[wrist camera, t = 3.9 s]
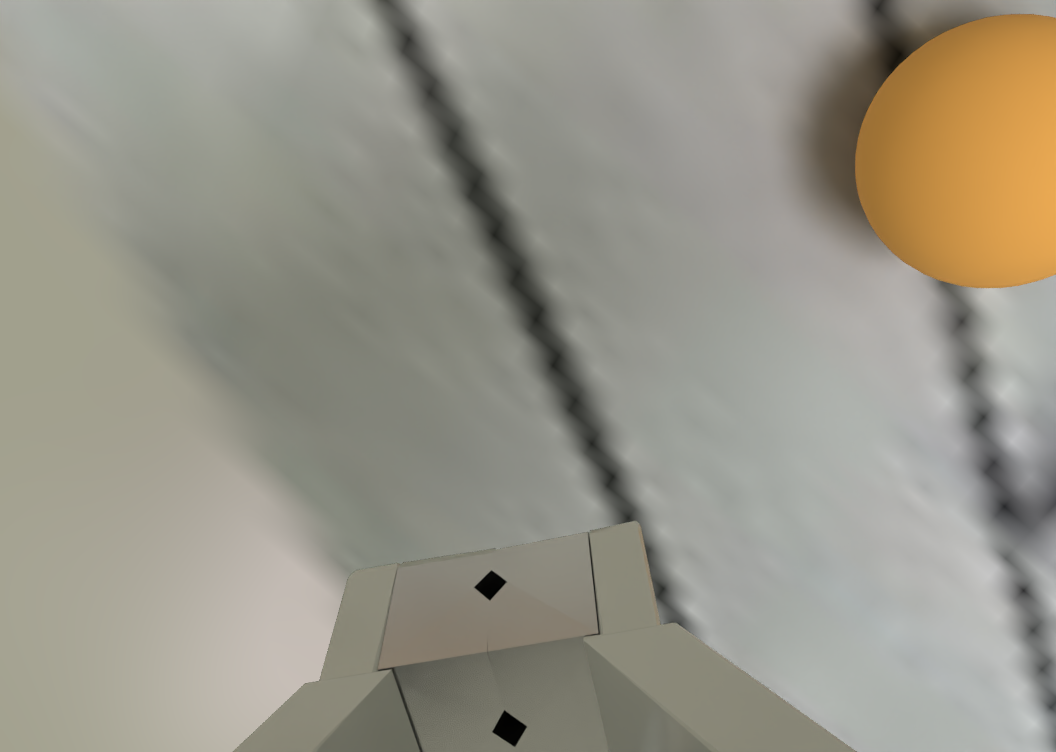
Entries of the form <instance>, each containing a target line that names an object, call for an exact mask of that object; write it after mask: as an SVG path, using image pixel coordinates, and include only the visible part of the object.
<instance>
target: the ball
mask: <svg viewBox="0 0 1056 752" xmlns="http://www.w3.org/2000/svg"><path fill="white" fill-rule="evenodd" d="M855 177H856V185H857V191H858V195H859V198H860V202H861V205H862V207H863V210H864V212H865V214H866V216H867V219H868V221H869V223H870V225H871V226H872V228H873V230H874V231H875V233H876V234H877V236H878V237H879V238H880V239H881V240H882V242H883V243H884V244H885V245H886V246H887V247H888V248H889V249H890V250H891V251H892V253H894V254H895V255H896V256H897V257H898V258H900V259H901V260H902V261H903V262H905V263H906V264H908V265H910V266H911V267H913V268H915V269H916V270H918V271H920V272H921V273H923V274H925V275H928V276H930V277H932V278H935V279H937V280H940V281H944V282H948V283H952V284H956V285H959V286H966V287H974V288H1004V287H1012V286H1019V285H1023V284H1027V283H1031V282H1035V281H1038V280H1042V279H1045V278H1047V277H1050V276H1053V275H1055V274H1056V18H1053V17H1049V16H1041V15H1034V14H1011V15H1000V16H993V17H986V18H983V19H979V20H976V21H972V22H969V23H966V24H963V25H960V26H958V27H955V28H953V29H951V30H948V31H946V32H944V33H942V34H940V35H938V36H937V37H935V38H933V39H931V40H930V41H928V42H927V43H925V44H924V45H923V46H921V47H920V48H918V49H917V50H916V51H914V52H913V53H912V54H911V55H910V56H908V57H907V58H906V59H905V60H904V61H903V62H902V63H901V64H900V65H899V66H898V67H897V68H896V69H895V70H894V71H893V72H892V73H891V74H890V76H889V77H888V78H887V79H886V80H885V82H884V83H883V85H882V86H881V87H880V89H879V90H878V92H877V93H876V95H875V97H874V98H873V100H872V102H871V104H870V106H869V108H868V110H867V112H866V115H865V117H864V120H863V122H862V125H861V129H860V133H859V136H858V141H857V148H856V155H855Z"/></svg>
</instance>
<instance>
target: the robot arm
mask: <svg viewBox="0 0 1056 752" xmlns="http://www.w3.org/2000/svg"><path fill="white" fill-rule="evenodd" d="M233 752H856V751H855V750H854V749H852V748H851V747H849V746H848V745H847V744H845V743H844V742H842V741H841V740H840V739H838V738H837V737H835V736H834V735H832V734H831V733H830V732H828V731H827V730H825V729H824V728H823V727H821V726H820V725H818V724H817V723H816V722H814V721H813V720H811V719H810V718H809V717H807V716H806V715H804V714H803V713H802V712H800V711H799V710H797V709H796V708H795V707H793V706H792V705H790V704H789V703H788V702H786V701H785V700H783V699H782V698H781V697H779V696H778V695H776V694H775V693H774V692H772V691H771V690H769V689H768V688H767V687H765V686H764V685H762V684H761V683H760V682H758V681H757V680H755V679H754V678H753V677H751V676H750V675H748V674H747V673H746V672H744V671H743V670H741V669H740V668H739V667H737V666H736V665H734V664H733V663H732V662H730V661H729V660H727V659H726V658H725V657H723V656H722V655H720V654H719V653H717V652H716V651H715V650H713V649H712V648H710V647H709V646H708V645H706V644H705V643H703V642H702V641H701V640H699V639H698V638H696V637H695V636H694V635H692V634H691V633H689V632H688V631H687V630H685V629H684V628H682V627H681V626H680V625H678V624H677V623H669V624H663V625H661V624H660V619H659V614H658V609H657V604H656V599H655V594H654V590H653V585H652V580H651V575H650V570H649V565H648V560H647V555H646V551H645V546H644V541H643V536H642V531H641V526H640V524H639V523H638V522H637V521H633V522H628V523H623V524H619V525H614V526H609V527H604V528H599V529H595V530H590V533H589V532H584V533H579V534H574V535H569V536H563V537H558V538H553V539H548V540H542V541H537V542H532V543H527V544H521V545H516V546H511V547H506V548H500V549H495V548H493V549H487V550H480V551H474V552H467V553H460V554H454V555H447V556H441V557H434V558H428V559H421V560H414V561H408V562H403V563H402V564H399V563H394V564H389V565H383V566H378V567H372V568H366V569H361V570H356V571H355V572H353V573H352V574H351V575H350V576H349V578H348V580H347V583H346V587H345V591H344V594H343V598H342V601H341V605H340V608H339V612H338V616H337V619H336V623H335V626H334V630H333V634H332V637H331V641H330V644H329V648H328V651H327V655H326V659H325V662H324V666H323V669H322V673H321V677H320V680H319V681H316V682H311V683H305V684H304V685H303V686H302V687H301V688H300V689H299V690H298V691H297V692H296V693H294V694H293V696H291V697H290V698H289V699H288V700H287V701H286V702H285V703H284V704H283V705H282V706H281V707H280V708H279V709H278V710H277V711H275V712H274V713H273V714H272V715H271V716H270V717H269V718H268V719H267V720H266V721H265V722H264V723H263V724H262V725H261V726H260V727H259V728H257V729H256V731H254V732H253V733H252V734H251V735H250V736H249V737H248V738H247V739H246V740H245V741H244V742H243V743H242V744H241V745H240V746H239V747H237V748H236V749H235V750H234V751H233Z"/></svg>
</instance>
